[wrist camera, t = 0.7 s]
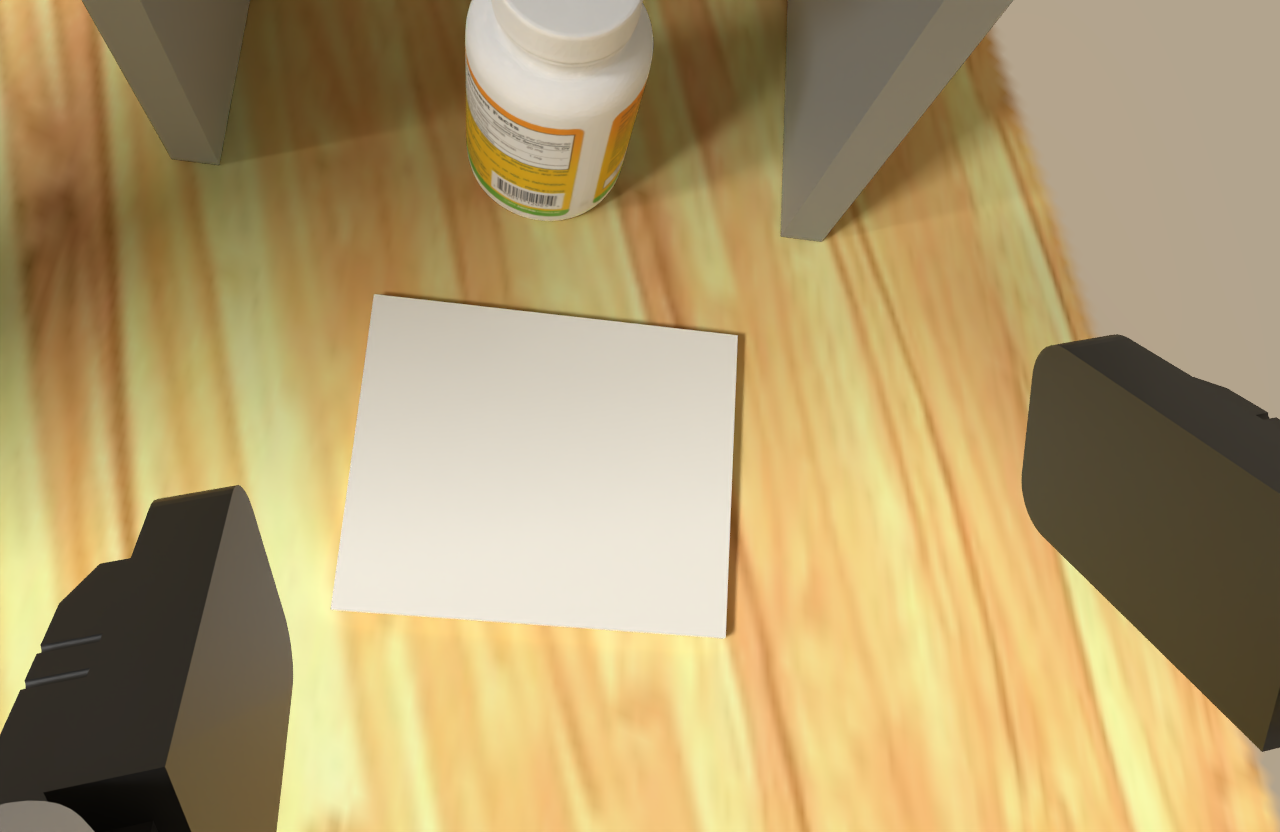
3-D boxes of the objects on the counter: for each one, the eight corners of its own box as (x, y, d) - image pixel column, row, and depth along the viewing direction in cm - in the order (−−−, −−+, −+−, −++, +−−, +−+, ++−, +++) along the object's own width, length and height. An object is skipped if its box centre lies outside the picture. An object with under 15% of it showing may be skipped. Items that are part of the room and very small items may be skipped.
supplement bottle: (581, 64, 37) (619, -142, 28) (647, 194, 36) (708, 25, 27) (440, 112, 36) (430, -88, 27) (504, 247, 35) (517, 89, 26)
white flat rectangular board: (332, 610, 31) (330, 609, 31) (375, 298, 34) (373, 294, 33) (722, 638, 33) (725, 637, 32) (734, 339, 35) (738, 335, 35)
